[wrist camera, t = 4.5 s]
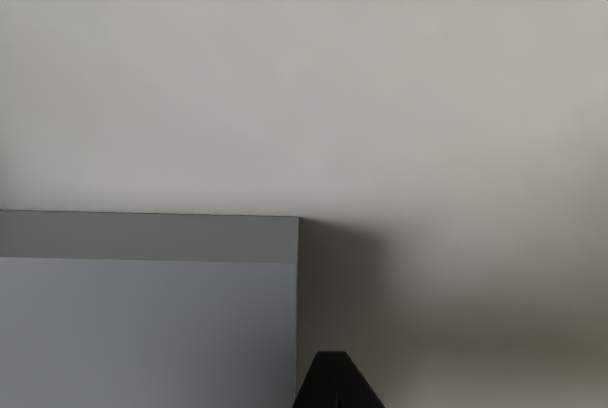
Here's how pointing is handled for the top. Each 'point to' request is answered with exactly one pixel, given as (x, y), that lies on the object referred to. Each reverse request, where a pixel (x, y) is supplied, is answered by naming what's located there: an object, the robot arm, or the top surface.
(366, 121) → the top surface
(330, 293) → the top surface
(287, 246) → the grey chamfered block
